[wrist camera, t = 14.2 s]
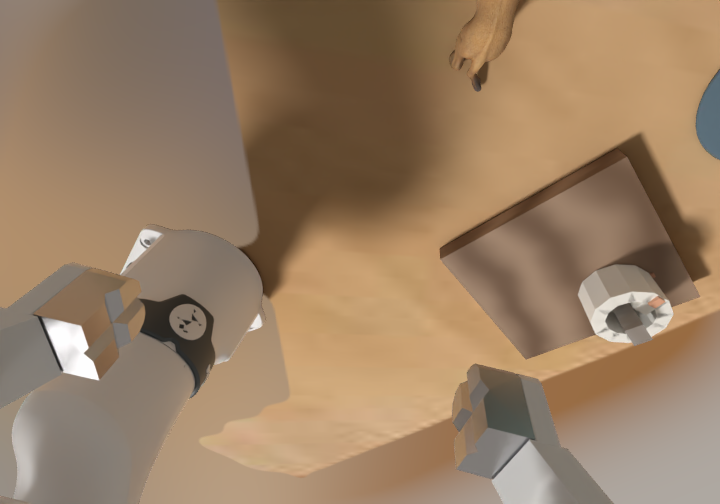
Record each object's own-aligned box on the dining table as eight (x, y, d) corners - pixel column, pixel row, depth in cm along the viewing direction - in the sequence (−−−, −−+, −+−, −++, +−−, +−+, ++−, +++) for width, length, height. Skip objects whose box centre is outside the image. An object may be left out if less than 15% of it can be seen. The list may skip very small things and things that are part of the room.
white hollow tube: (613, 322, 40) (630, 353, 37) (564, 296, 40) (576, 326, 36) (667, 283, 37) (691, 314, 33) (615, 254, 36) (634, 283, 32)
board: (522, 346, 47) (537, 403, 41) (439, 248, 41) (441, 297, 34) (689, 283, 39) (741, 343, 32) (617, 148, 33) (664, 188, 26)
